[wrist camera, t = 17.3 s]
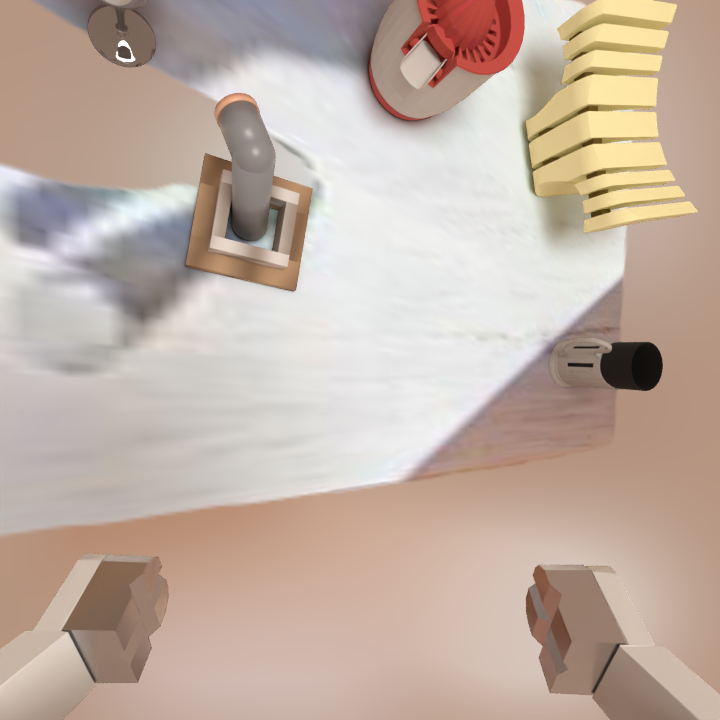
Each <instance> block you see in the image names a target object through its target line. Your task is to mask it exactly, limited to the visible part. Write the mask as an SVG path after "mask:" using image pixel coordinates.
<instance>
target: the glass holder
mask: <svg viewBox="0 0 720 720" xmlns="http://www.w3.org/2000/svg"><path fill="white" fill-rule="evenodd" d="M662 367H663V363H662V357H661V354H660V351H659V350H658V348H657V347H656V346H655V345H654V344H652V343H650V342H605V341H603V340H600V339H596V338H576V339H572V340H563V341H561V342H559V343H558V344H557V345H556V346H555V347H554V348H553V350H552V352H551V355H550V359H549V369H550V374H551V376H552V378H553V380H554V381H555V382H556V384H558V385H559V386H561V387H565V388H566V387H572V386H582V387H594V388H605V389H617V390H618V389H631V390H642V391H648V390H651V389H653V388H654V387H655V386H656V385H657V383H658V382H659V380H660V377H661V374H662V369H663V368H662Z"/></svg>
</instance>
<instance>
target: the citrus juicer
mask: <svg viewBox="0 0 720 720" xmlns="http://www.w3.org/2000/svg"><path fill="white" fill-rule="evenodd" d="M523 35H524V10H523V3H522V0H394V1H393V2H392V4H391V5H390V7H389V8H388V10H387V12H386V13H385V15H384V17H383V19H382V22H381V24H380V27H379V29H378V32H377V34H376V37H375V40H374V44H373V46H372V50H371V55H370V63H369V76H370V82H371V85H372V88H373V91H374V93H375V95H376V97H377V99H378V100H379V102H380V103H381V104H382V106H383V107H384V108H385V109H386V110H387V111H389V112H390V113H391V114H393V115H394V116H396V117H399V118H401V119H405V120H422V119H426V118H430V117H431V116H434V115H437V114H440V113H442V112H444V111H446V110H448V109H450V108H452V107H453V106H455V105H456V104H458V103H459V102H461V101H462V100H464V99H465V98H466V97H467V96H469V95H470V94H471V93H472V92H473V91H475V90H476V89H477V88H478V87H480V86H481V85H482V84H483V83H485V82H486V81H487V80H488V79H489V78H491V77H492V76H493V75H494V74H496V73H498V72H500V71H502V70H504V69H505V68H507V67H508V66H509V65H510V64H511V63H512V62H513V60H514V59H515V57H516V55H517V54H518V52H519V50H520V47H521V44H522V41H523Z"/></svg>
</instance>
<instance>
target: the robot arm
mask: <svg viewBox="0 0 720 720" xmlns="http://www.w3.org/2000/svg"><path fill="white" fill-rule="evenodd" d="M161 568H162V565H161V562H160V560H159V557H155V556H154V557H153V556H131V555H110V554H85V555H84V556H82V557H81V558H80V559H79V560H78V561H77V562H76V563H75V565H74V567H73V568H72V570H71V571H70V573H69V574H68V576H67V578H66V579H65V581H64V582H63V584H62V585H61V587H60V589H59V590H58V592H57V593H56V595H55V596H54V598H53V600H52V601H51V603H50V604H49V606H48V607H47V609H46V610H45V612H44V614H43V615H42V617H41V618H40V620H39V622H38V623H37V625H36V626H35V628H34V629H33V630H26V631H24V632H23V633H21V634H20V635H19V636H17V637H16V638H15V639H13V640H12V641H11V642H9V643H8V644H7V645H5V646H4V647H3V648H1V649H0V720H64V719H65V718H66V717H67V716H68V714H70V712H71V711H72V710H73V709H74V708H75V707H76V706H77V705H78V704H79V703H80V702H81V701H82V700H83V699H84V698H85V697H86V695H87V694H88V693H89V692H90V691H91V690H92V689H93V688H94V687H95V683H138V681H139V678H140V676H141V673H142V671H143V668H144V666H145V663H146V661H147V659H148V656H149V654H150V651H151V648H152V647H151V644H150V640H149V636H150V635H151V634H152V633H153V632H154V631H156V630H157V629H158V628H159V627H160V626H161V623H162V620H163V618H164V615H165V612H166V607H167V602H168V585H167V581H166V579H164V578H163V577H162V576H160V575H159V572H160V570H161ZM533 577H534V580H535V584H534V585H533V586H531V587H530V588H529V589H528V593H527V596H526V614H527V619H528V624H529V627H530V631H531V634H532V636H533V637H534V638H535V639H536V640H537V641H538V642H539V643H540V644H541V645H542V646H543V647H542V650H541V653H540V656H539V660H540V663H541V666H542V670H543V673H544V676H545V679H546V682H547V685H548V689H549V692H550V693H560V694H579V695H593V699H594V701H595V702H596V703H597V704H598V705H599V707H600V708H601V709H602V710H603V711H604V713H605V714H606V715H607V716H608V718H609V719H610V720H720V694H718V693H717V692H716V691H715V690H714V689H712V688H711V687H710V686H709V685H708V684H707V683H705V682H704V681H703V680H702V679H701V678H700V677H699V676H697V675H696V674H695V673H694V672H693V671H692V670H690V669H689V668H688V667H687V666H686V665H685V664H683V663H682V662H681V661H680V660H679V659H678V658H676V657H675V656H674V655H673V654H672V653H671V652H669V651H668V650H667V649H666V648H665V647H663V646H656V645H655V644H654V642H653V640H652V638H651V637H650V635H649V633H648V631H647V629H646V627H645V625H644V623H643V621H642V620H641V618H640V616H639V614H638V612H637V610H636V608H635V607H634V605H633V603H632V601H631V599H630V597H629V596H628V594H627V592H626V590H625V588H624V586H623V584H622V582H621V581H620V579H619V577H618V575H617V573H616V571H615V570H614V569H613V568H611V567H609V566H584V565H538V566H537V567H536V568H535V570H534V573H533Z"/></svg>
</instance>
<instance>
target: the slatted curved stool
mask: <svg viewBox="0 0 720 720" xmlns="http://www.w3.org/2000/svg"><path fill="white" fill-rule="evenodd" d="M676 7H677V4H671V3H665V2H659V1H653V0H597V1H595V2H593V3H591V4H589V5H587V6H586V7H584V8H583V9H581V10H580V11H579V12H577V13H576V14H575V15H574V16H572V17H571V18H570V19H569V20H567V21H566V22H565V23H564V24H562V25H561V26H560V27H559V28H557V29H558V32H559V34H560V37H561V40H566V41H569V42H568V43H567V44H565V45H564V46H563V50H564V60H572V62H571V63H569V64H568V65H566V66H565V67H564V73H563V78H562V81H561V84H570V85H569V86H567V87H565V88H564V89H562V90H561V91H559V92H558V93H556V94H555V95H554V96H553V97H552V99H551V100H550V101H549V102H548V103H547V104H546V105H545V107H544V108H543V109H542V110H541V111H540V112H539V113H537V114H536V115H535V116H534V117H532V118H531V119H529V120H526V127H527V135H528V140H529V141H531V142H530V144H529V149H530V157H531V164H532V169H537V170H535V171H534V172H533V179H534V186H535V192H536V194H537V195H538V196H541V197H543V196H555V195H566V194H578V193H580V195H589V199H587V200H585V201H582V202H583V207H584V214H586V213H591V218H589V219H586V220H584V231H583V233H588V232H595V231H603V230H607V229H611V228H615V227H620V226H624V225H629V224H635V223H640V222H646V221H653V220H659V219H666V218H674V217H680V216H684V215H688V214H692V213H696V212H698V211H697V210H696V208H695V207H694V206H693V205H692V204H691V202H681V203H672V204H662V205H653V206H644V207H636V208H626V209H621V210H617V211H613V212H611V211H610V210H613V209H618V208H622V207H628V206H633V205H639V204H646V203H653V202H663V201H671V200H675V199H678V198H682V197H685V194H684V193H683V191H682V190H681V189H680V187H679V186H672V187H660V188H649V189H636V190H625V191H617V190H622V189H629V188H636V187H644V186H653V185H664V184H667V183H670V182H673V181H675V179H674V177H673V175H672V173H671V171H670V170H663V171H646V172H630V173H619V172H626V171H636V170H647V169H656V168H659V167H662V166H665V165H667V162H666V160H665V157H664V154H663V152H662V148H661V144H660V143H659V142H653V143H612V144H606V143H611V142H618V141H628V140H644V139H654V138H656V137H658V129H657V120H656V112H612V111H615V110H628V109H650V108H652V107H655V106H656V95H657V85H658V78H643V77H627V76H620V75H653V74H655V73H657V72H659V70H660V66H661V61H662V56H657V55H647V54H636V53H625V52H643V53H657V52H658V51H660V50H662V49H664V47H665V44H666V40H667V36H668V33H669V32H668V31H661V29H662V28H664V27H665V26H667V25H669V24H670V23H672V19H673V16H674V13H675V10H676ZM613 173H614V174H613ZM612 191H613V192H612ZM608 192H609V193H608Z"/></svg>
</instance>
